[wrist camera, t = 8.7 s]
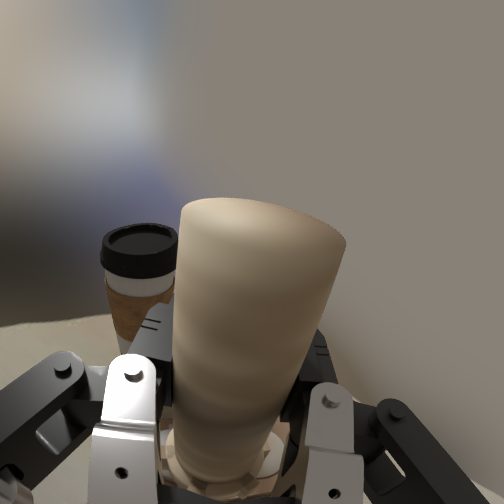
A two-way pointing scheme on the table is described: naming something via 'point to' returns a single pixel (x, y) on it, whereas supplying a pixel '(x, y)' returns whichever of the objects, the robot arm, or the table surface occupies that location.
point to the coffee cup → (138, 274)
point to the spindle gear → (241, 334)
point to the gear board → (270, 463)
